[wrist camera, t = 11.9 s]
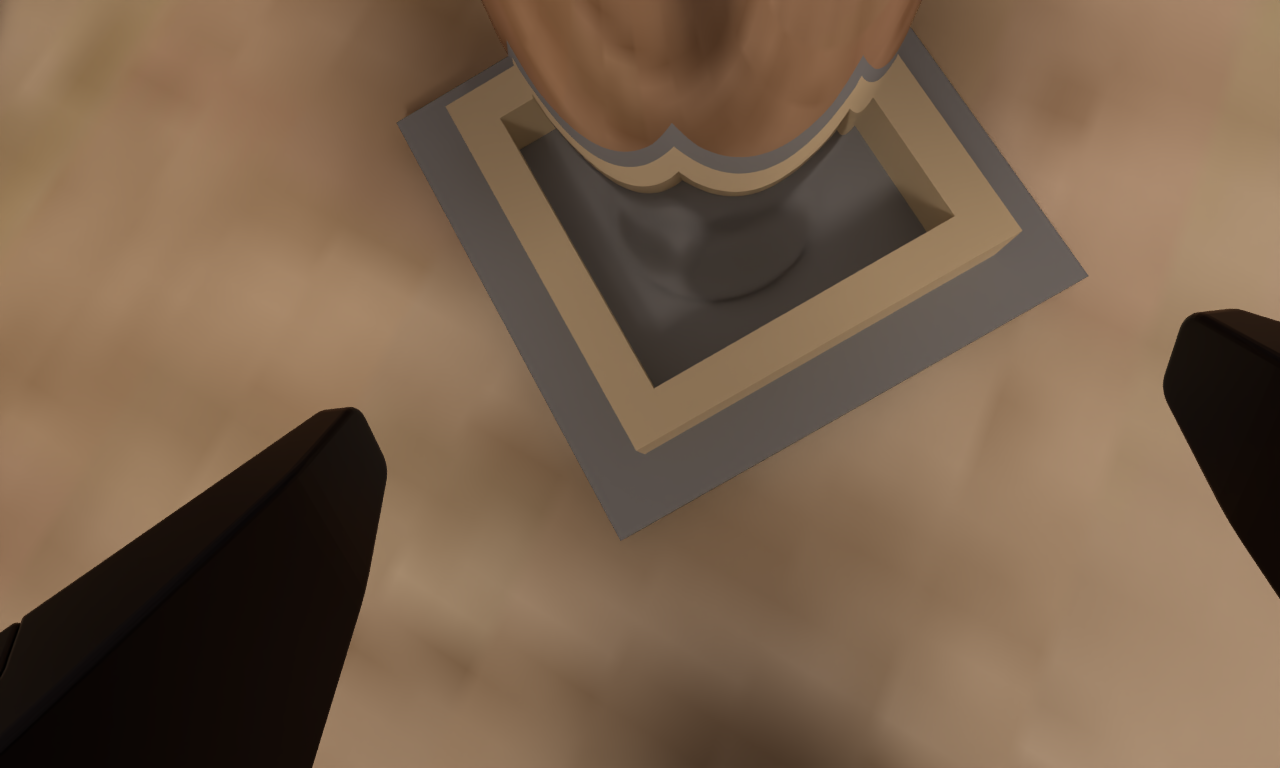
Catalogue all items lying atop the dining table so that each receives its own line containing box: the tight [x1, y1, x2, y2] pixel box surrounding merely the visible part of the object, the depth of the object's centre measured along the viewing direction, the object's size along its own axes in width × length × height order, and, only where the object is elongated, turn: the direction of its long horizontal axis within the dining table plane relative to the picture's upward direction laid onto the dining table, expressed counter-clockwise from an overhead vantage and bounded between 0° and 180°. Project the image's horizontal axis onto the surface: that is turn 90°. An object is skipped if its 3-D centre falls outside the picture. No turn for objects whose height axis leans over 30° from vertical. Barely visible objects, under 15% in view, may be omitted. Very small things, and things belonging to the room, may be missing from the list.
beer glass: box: [481, 0, 922, 300], centre depth 14 cm, size 7×7×15 cm
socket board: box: [397, 27, 1088, 541], centre depth 21 cm, size 15×15×3 cm
